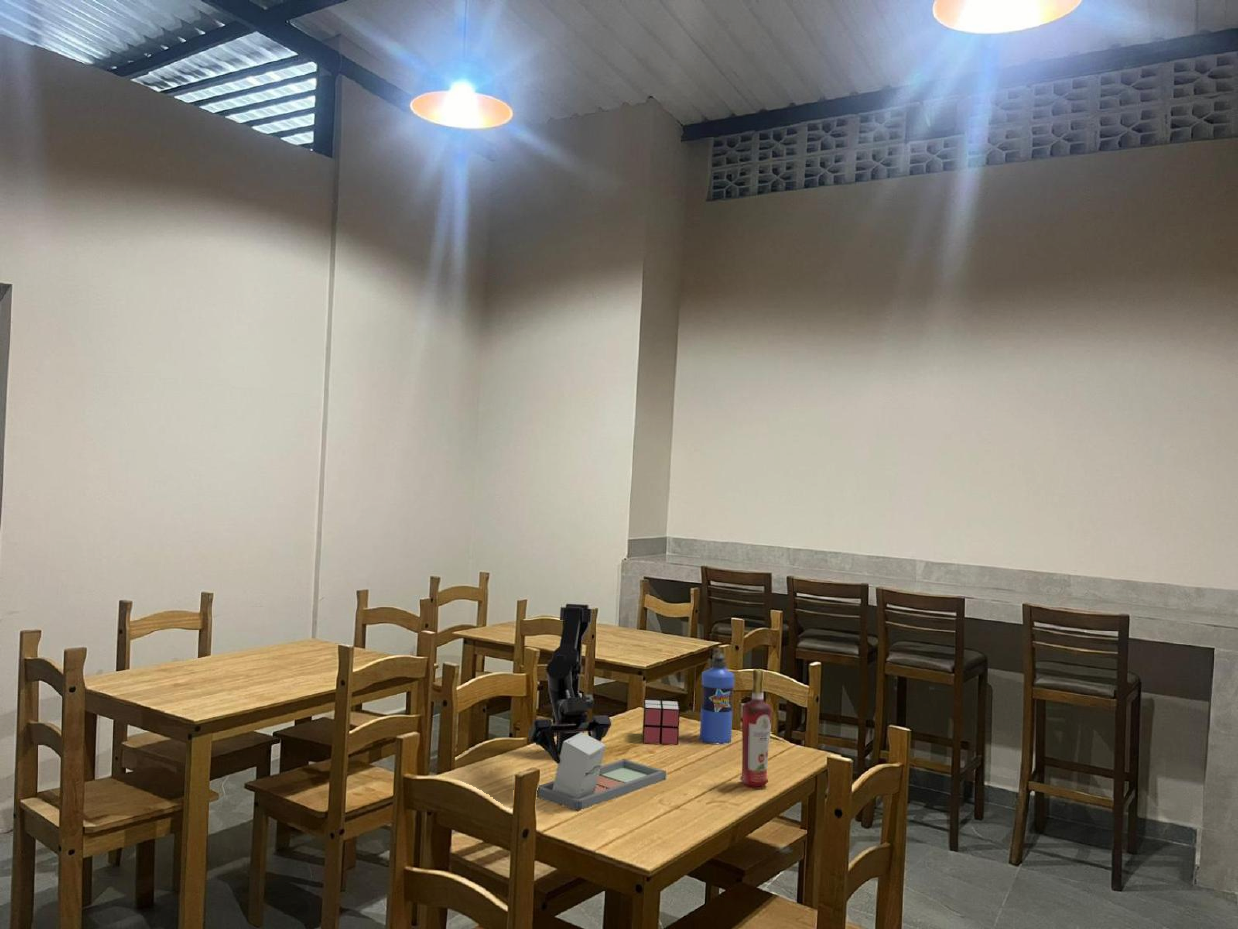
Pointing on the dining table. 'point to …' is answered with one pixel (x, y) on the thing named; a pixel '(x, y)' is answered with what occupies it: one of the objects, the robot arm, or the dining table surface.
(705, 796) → the dining table surface
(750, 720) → the liquor
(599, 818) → the dining table surface
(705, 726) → the water bottle
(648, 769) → the shallow tray
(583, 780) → the supplement box
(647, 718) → the puzzle cube
